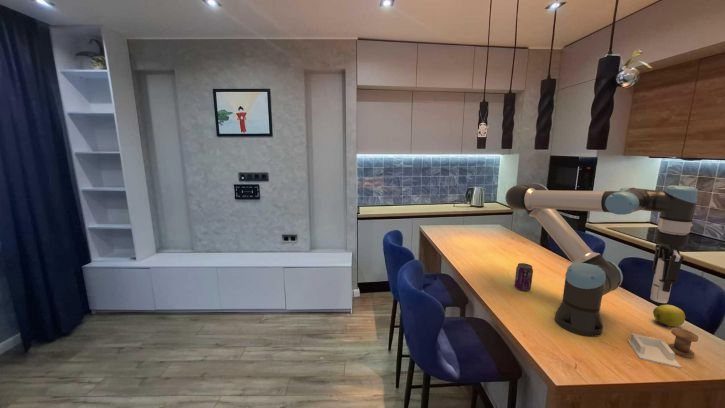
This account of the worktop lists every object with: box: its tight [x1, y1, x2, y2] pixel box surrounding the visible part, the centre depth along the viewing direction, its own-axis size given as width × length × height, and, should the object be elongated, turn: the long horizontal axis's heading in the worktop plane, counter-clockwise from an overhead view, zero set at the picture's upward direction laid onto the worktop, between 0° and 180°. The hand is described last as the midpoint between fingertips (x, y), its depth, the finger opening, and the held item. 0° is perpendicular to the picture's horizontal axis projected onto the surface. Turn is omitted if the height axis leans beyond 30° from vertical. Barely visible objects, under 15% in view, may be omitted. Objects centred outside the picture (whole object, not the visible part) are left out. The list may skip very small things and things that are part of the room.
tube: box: [649, 258, 669, 304], centre depth 102 cm, size 4×4×15 cm
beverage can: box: [514, 262, 534, 292], centre depth 142 cm, size 7×7×12 cm
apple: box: [652, 304, 686, 327], centre depth 113 cm, size 8×9×8 cm
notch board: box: [627, 333, 682, 369], centre depth 98 cm, size 10×10×3 cm
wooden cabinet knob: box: [667, 327, 699, 359], centre depth 98 cm, size 6×6×7 cm
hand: (659, 295), depth 103 cm, fingers closed on tube, 4 cm apart
